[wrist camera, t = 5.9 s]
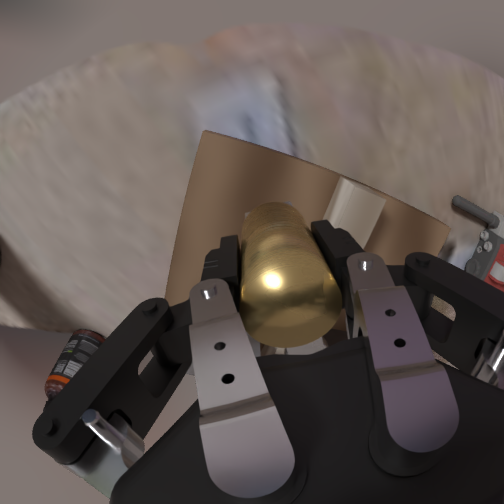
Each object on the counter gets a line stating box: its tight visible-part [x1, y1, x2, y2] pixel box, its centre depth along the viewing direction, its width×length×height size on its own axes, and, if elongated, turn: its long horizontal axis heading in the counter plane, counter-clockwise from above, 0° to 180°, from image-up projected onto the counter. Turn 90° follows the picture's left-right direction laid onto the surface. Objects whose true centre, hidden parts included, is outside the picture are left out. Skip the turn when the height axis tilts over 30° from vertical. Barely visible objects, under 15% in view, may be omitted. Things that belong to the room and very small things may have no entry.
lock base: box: [165, 130, 451, 376], centre depth 21 cm, size 22×21×8 cm
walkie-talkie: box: [452, 195, 504, 292], centre depth 22 cm, size 9×4×20 cm
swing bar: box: [239, 201, 342, 355], centre depth 14 cm, size 13×3×7 cm, turn 16°
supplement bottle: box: [43, 330, 106, 412], centre depth 23 cm, size 6×6×11 cm
